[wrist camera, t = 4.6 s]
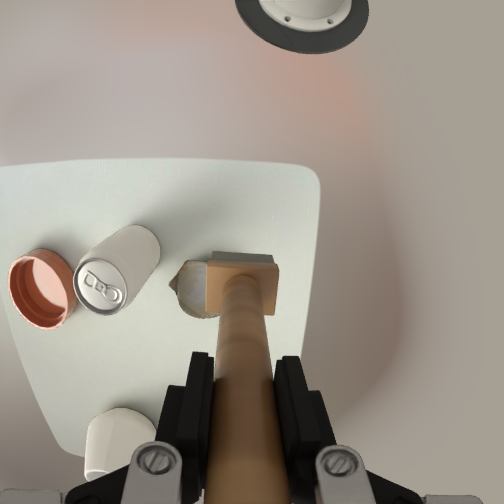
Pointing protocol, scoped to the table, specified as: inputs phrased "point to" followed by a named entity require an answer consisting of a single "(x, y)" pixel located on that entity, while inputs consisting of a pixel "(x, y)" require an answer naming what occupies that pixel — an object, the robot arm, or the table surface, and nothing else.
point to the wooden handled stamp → (244, 385)
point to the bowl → (42, 288)
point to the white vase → (115, 440)
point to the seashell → (192, 289)
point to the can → (116, 270)
